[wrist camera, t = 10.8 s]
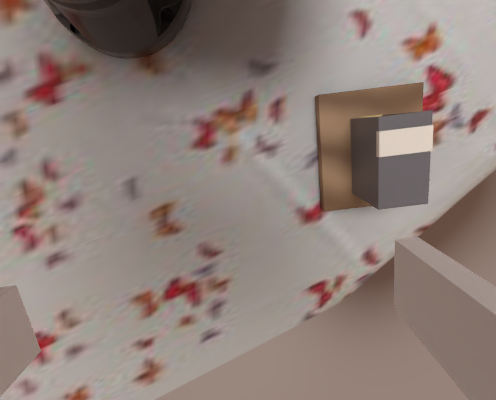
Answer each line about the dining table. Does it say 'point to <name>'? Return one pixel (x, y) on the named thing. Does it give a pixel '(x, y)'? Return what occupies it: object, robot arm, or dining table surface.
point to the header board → (339, 134)
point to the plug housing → (392, 158)
